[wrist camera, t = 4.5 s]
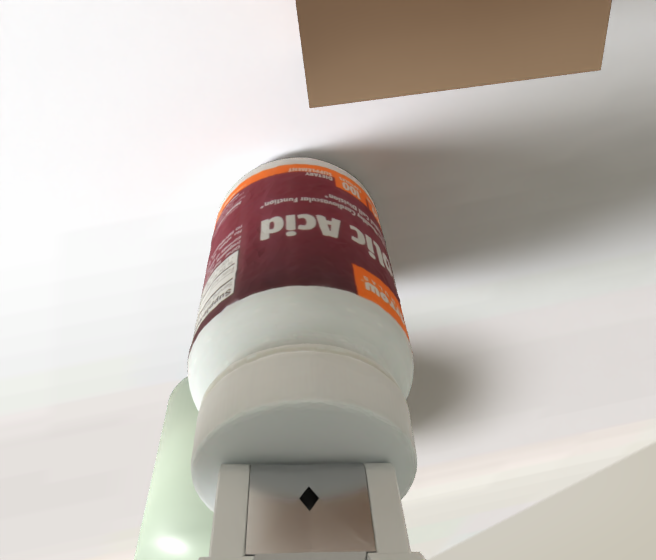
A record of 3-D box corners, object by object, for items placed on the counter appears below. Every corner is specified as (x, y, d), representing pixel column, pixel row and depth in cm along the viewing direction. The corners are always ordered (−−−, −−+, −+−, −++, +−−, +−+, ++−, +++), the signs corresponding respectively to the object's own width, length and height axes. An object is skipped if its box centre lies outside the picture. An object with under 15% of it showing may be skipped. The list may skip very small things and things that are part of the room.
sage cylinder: (160, 363, 19) (119, 525, 14) (306, 363, 20) (314, 520, 15) (174, 457, 22) (144, 619, 17) (301, 455, 23) (307, 612, 18)
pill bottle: (407, 189, 16) (495, 429, 9) (334, 308, 19) (363, 564, 12) (249, 123, 15) (222, 351, 8) (193, 262, 17) (136, 524, 10)
